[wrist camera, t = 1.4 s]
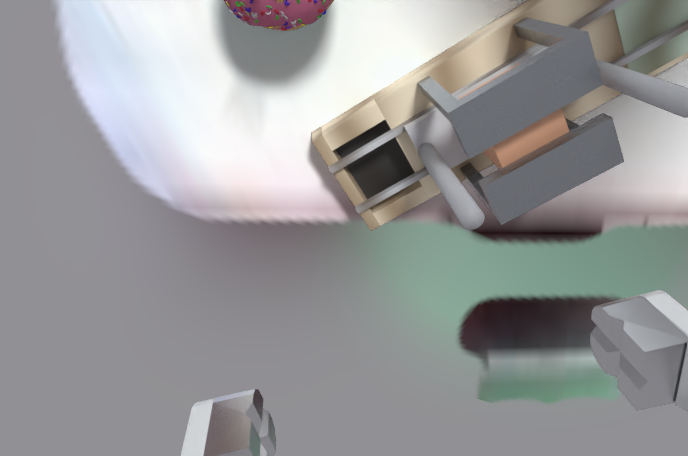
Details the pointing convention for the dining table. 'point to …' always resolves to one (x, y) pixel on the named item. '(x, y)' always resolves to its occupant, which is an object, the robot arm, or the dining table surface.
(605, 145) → the tunnel
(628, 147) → the dining table surface
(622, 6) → the board
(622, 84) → the sled
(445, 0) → the dining table surface
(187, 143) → the dining table surface
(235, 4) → the cupcake
